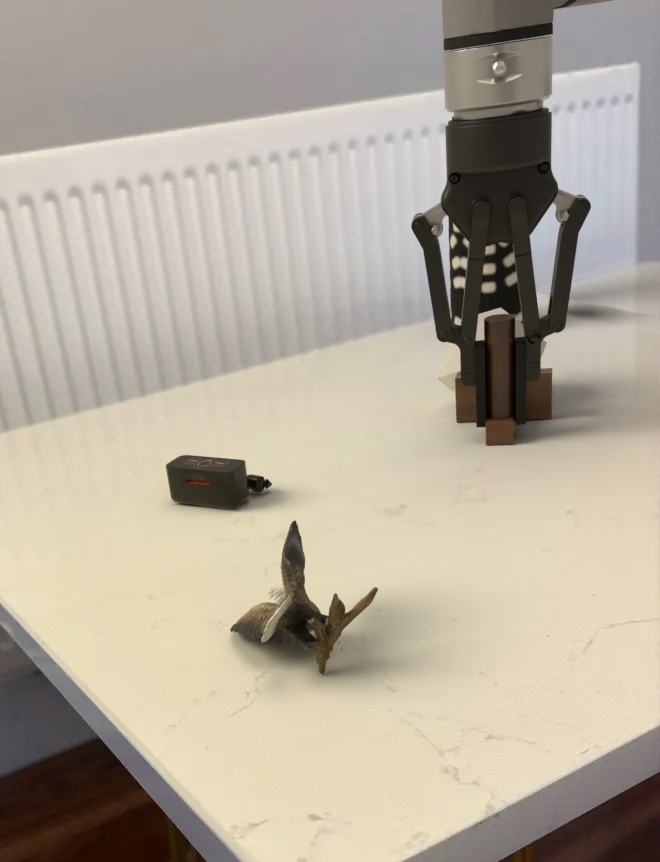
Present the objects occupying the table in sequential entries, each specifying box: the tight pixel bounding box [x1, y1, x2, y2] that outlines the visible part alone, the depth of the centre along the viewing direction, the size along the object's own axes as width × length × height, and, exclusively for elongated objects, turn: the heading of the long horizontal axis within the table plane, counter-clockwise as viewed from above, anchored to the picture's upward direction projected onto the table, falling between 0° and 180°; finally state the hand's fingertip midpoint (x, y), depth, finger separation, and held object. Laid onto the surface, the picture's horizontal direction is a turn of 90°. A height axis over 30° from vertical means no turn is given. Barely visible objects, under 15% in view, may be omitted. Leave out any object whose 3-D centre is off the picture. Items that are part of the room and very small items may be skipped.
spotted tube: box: [447, 216, 523, 324], centre depth 112 cm, size 8×8×20 cm
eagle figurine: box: [229, 519, 379, 675], centre depth 59 cm, size 8×7×9 cm
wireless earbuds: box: [165, 454, 273, 510], centre depth 82 cm, size 5×7×3 cm, turn 57°
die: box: [436, 308, 548, 393], centre depth 92 cm, size 8×9×10 cm
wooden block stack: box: [454, 314, 553, 446], centre depth 85 cm, size 8×8×10 cm
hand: (500, 420), depth 85 cm, fingers closed on wooden block stack, 2 cm apart
